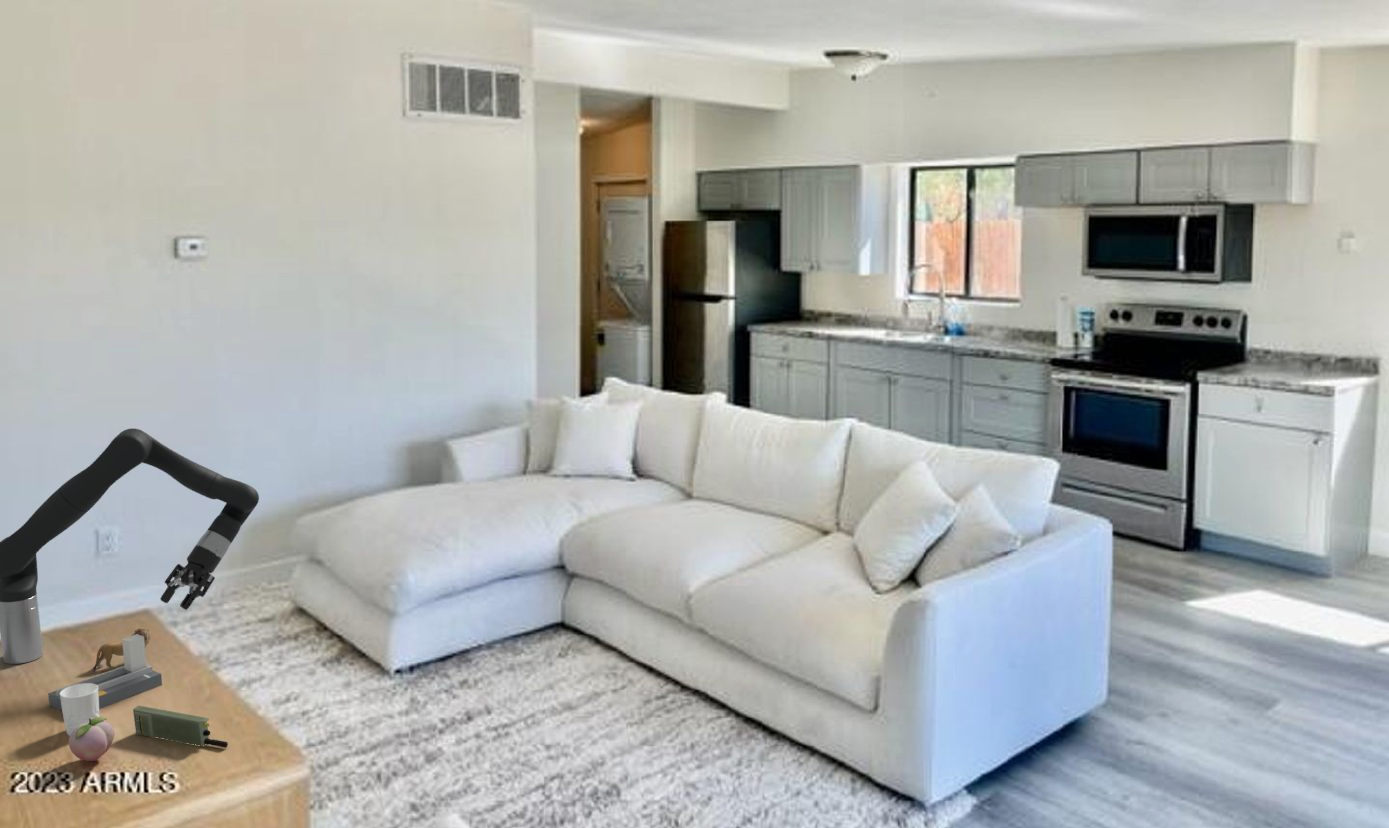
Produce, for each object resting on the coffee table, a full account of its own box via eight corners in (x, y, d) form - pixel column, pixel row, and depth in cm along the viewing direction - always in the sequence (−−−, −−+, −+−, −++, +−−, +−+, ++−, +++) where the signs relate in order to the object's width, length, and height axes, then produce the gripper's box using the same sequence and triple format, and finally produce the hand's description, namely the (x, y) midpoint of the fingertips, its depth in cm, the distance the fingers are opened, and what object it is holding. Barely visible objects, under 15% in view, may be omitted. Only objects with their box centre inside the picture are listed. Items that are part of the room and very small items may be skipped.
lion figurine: (148, 655, 308) (146, 623, 306) (154, 661, 304) (152, 629, 302) (89, 669, 298) (86, 637, 297) (94, 675, 294) (91, 642, 293)
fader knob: (124, 672, 288) (120, 638, 287) (138, 667, 292) (135, 633, 290) (133, 675, 286) (130, 642, 284) (148, 670, 289) (145, 637, 288)
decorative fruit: (86, 750, 254) (81, 708, 253) (122, 751, 254) (118, 709, 252) (61, 771, 245) (57, 728, 243) (99, 772, 245) (94, 728, 243)
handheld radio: (144, 730, 265) (232, 746, 257) (133, 736, 262) (222, 753, 254) (141, 703, 264) (229, 719, 256) (130, 710, 261) (219, 726, 253)
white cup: (109, 727, 266) (105, 687, 264) (79, 741, 259) (75, 700, 257) (86, 720, 269) (82, 680, 267) (56, 734, 262) (51, 693, 260)
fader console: (49, 705, 277) (47, 687, 276) (134, 674, 295) (133, 657, 294) (76, 717, 271) (74, 699, 270) (162, 684, 289) (160, 668, 288)
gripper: (183, 540, 304) (146, 593, 297) (216, 549, 297) (179, 603, 289) (202, 554, 310) (166, 606, 302) (235, 563, 302) (199, 617, 295)
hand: (173, 605), depth 296 cm, fingers open, 8 cm apart
